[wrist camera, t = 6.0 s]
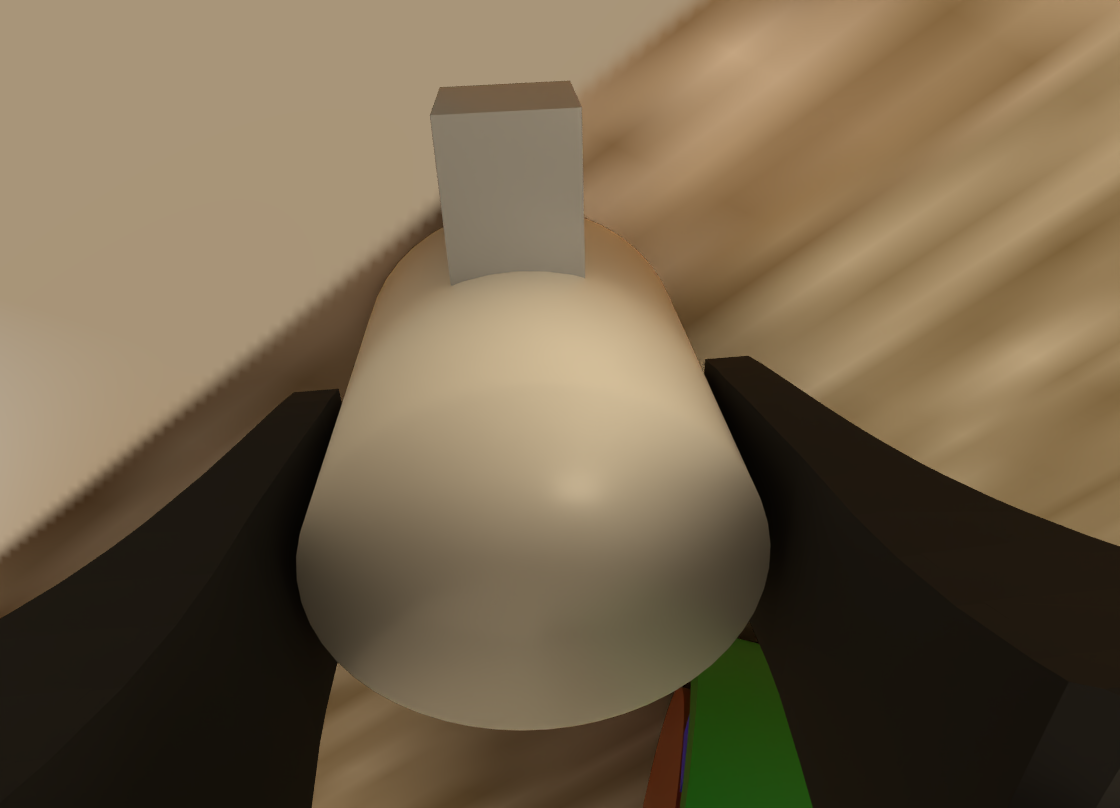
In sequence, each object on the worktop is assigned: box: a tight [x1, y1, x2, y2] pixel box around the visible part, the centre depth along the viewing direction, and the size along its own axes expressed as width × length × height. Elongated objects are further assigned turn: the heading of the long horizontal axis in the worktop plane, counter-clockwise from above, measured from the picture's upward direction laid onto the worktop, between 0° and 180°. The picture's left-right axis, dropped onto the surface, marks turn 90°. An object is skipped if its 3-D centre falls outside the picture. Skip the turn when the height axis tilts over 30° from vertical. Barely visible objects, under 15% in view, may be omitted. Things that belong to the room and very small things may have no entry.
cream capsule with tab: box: [296, 81, 770, 731], centre depth 10 cm, size 5×7×5 cm
